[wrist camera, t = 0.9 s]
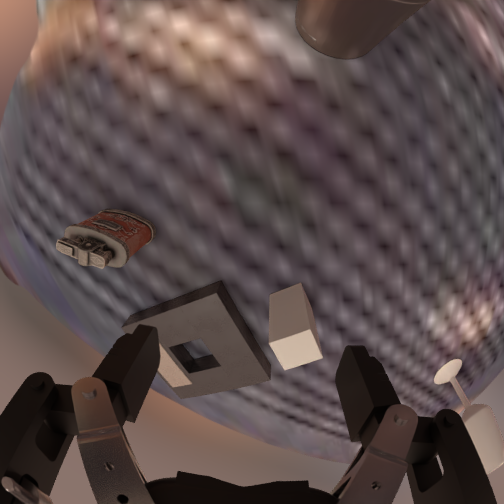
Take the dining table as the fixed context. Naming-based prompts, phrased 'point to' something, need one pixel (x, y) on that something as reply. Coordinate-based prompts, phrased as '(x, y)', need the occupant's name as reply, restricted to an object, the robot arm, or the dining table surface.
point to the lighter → (107, 238)
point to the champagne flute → (476, 421)
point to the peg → (293, 328)
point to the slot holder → (213, 335)
